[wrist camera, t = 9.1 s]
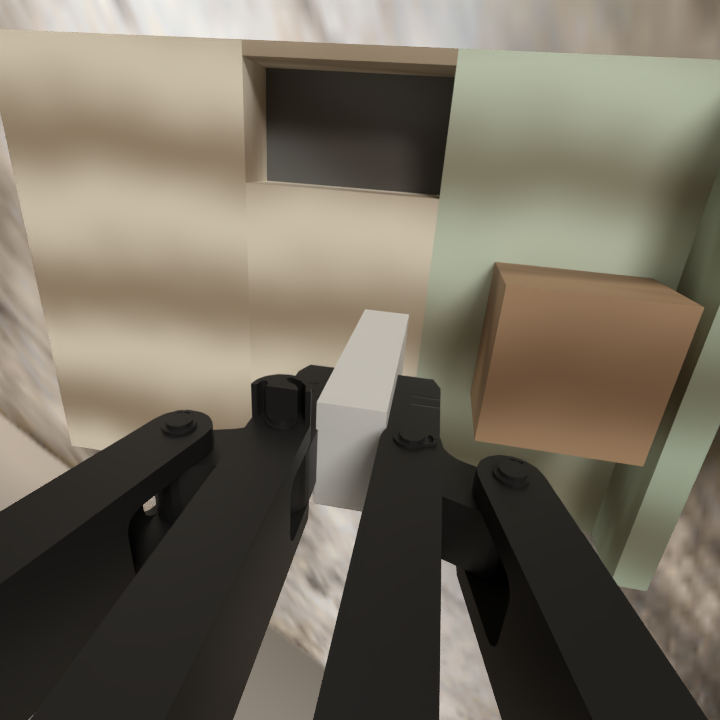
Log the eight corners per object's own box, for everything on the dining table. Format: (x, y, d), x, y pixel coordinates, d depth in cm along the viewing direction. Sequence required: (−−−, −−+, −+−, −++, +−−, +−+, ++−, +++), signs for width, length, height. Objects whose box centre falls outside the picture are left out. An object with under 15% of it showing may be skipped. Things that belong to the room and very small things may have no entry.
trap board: (41, 45, 21) (-97, 5, 16) (752, 79, 18) (888, 41, 12) (106, 419, 29) (29, 477, 24) (604, 500, 26) (646, 591, 20)
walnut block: (495, 261, 19) (506, 285, 15) (652, 278, 18) (704, 307, 14) (470, 393, 21) (474, 440, 18) (608, 412, 20) (643, 466, 17)
